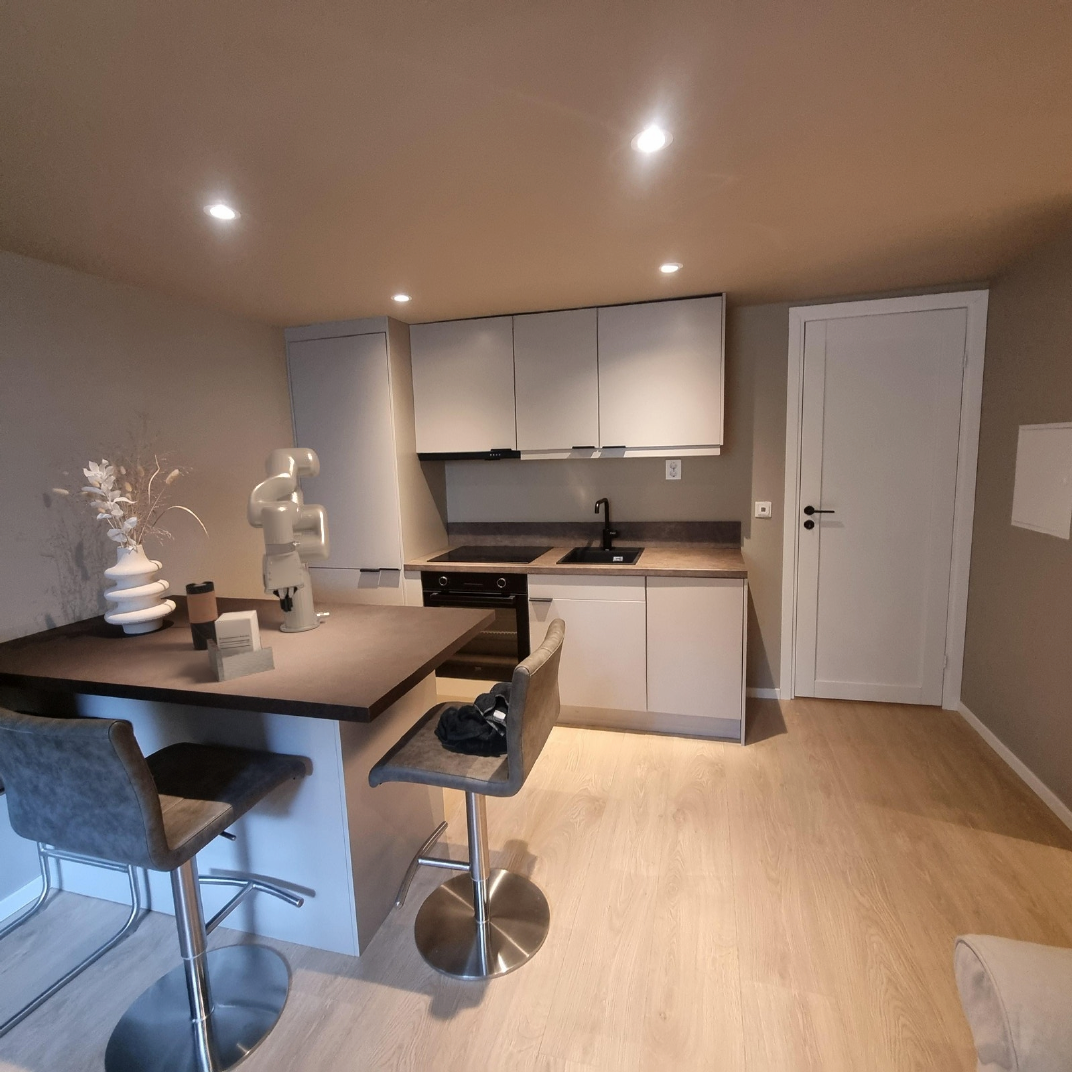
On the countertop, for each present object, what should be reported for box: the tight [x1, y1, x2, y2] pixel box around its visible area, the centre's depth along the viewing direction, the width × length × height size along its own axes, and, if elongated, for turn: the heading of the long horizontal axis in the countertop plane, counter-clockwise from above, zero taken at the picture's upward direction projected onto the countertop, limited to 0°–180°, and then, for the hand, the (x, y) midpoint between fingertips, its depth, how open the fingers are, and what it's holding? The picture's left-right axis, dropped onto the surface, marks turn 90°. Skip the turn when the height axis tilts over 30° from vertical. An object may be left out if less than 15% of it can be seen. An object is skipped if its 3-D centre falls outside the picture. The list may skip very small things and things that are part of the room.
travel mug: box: [185, 581, 219, 651], centre depth 175 cm, size 8×8×20 cm
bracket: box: [207, 637, 275, 683], centre depth 155 cm, size 13×14×8 cm
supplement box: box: [215, 609, 262, 657], centre depth 155 cm, size 9×9×15 cm
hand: (287, 610), depth 163 cm, fingers closed
